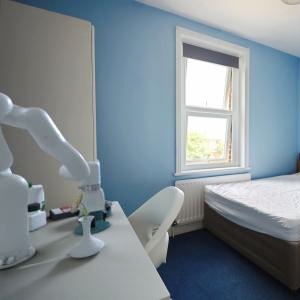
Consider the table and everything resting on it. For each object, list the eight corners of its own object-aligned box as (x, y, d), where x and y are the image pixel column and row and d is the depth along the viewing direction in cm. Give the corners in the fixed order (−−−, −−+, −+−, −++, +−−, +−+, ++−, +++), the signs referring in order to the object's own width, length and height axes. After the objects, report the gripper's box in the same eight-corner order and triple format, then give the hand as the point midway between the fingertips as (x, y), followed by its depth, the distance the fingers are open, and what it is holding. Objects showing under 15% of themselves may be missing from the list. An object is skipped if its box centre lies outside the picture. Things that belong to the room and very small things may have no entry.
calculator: (86, 207, 120) (53, 213, 109) (86, 214, 121) (53, 221, 109) (80, 203, 127) (49, 208, 116) (80, 210, 128) (49, 216, 116)
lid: (111, 231, 99) (110, 218, 98) (73, 239, 91) (72, 225, 91) (109, 220, 111) (109, 209, 111) (75, 226, 103) (75, 214, 103)
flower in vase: (74, 247, 84) (72, 187, 82) (106, 242, 88) (104, 185, 86) (62, 266, 72) (59, 196, 70) (100, 260, 76) (97, 193, 74)
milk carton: (22, 219, 112) (19, 183, 110) (44, 215, 118) (42, 180, 117) (23, 224, 106) (20, 185, 104) (46, 219, 112) (44, 183, 111)
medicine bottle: (46, 224, 105) (45, 201, 105) (32, 231, 98) (31, 206, 98) (34, 224, 106) (32, 201, 105) (18, 230, 99) (17, 205, 98)
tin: (112, 218, 114) (111, 203, 113) (82, 224, 106) (81, 208, 106) (110, 211, 125) (110, 197, 125) (83, 215, 118) (82, 201, 117)
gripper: (68, 191, 92) (70, 229, 93) (112, 186, 101) (113, 221, 103) (70, 188, 98) (71, 223, 100) (111, 183, 108) (112, 216, 109)
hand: (93, 222), depth 101 cm, fingers open, 8 cm apart
